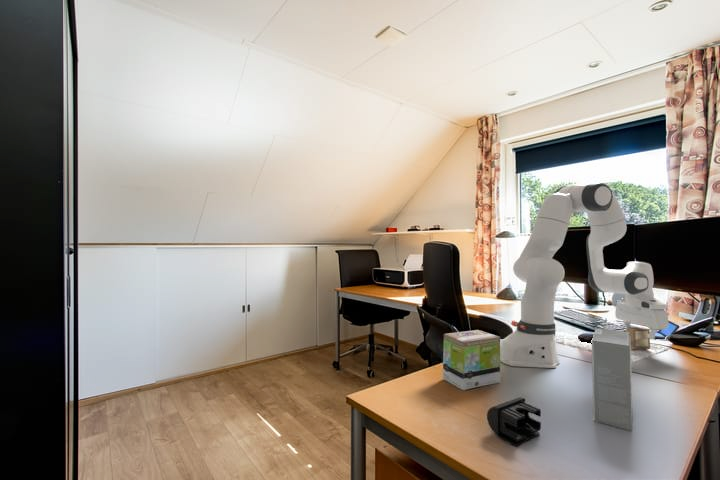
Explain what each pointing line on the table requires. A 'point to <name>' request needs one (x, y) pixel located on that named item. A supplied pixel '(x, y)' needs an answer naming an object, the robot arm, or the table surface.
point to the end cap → (514, 421)
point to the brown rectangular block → (639, 338)
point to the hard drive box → (612, 378)
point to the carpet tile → (635, 353)
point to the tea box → (471, 359)
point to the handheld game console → (667, 330)
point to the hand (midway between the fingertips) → (639, 335)
